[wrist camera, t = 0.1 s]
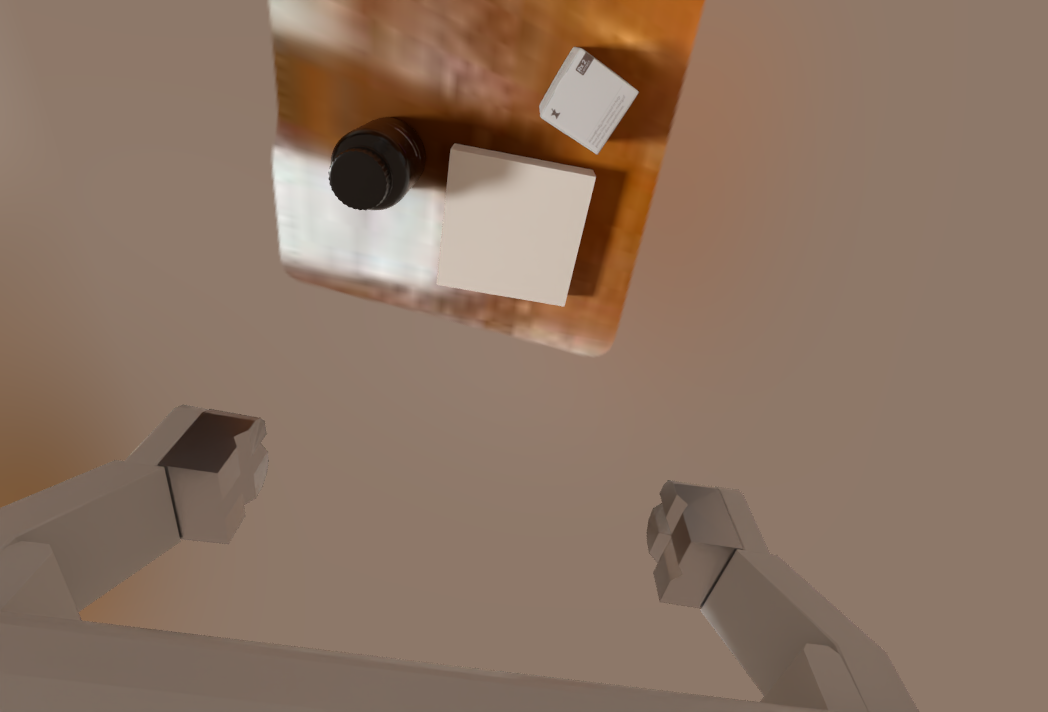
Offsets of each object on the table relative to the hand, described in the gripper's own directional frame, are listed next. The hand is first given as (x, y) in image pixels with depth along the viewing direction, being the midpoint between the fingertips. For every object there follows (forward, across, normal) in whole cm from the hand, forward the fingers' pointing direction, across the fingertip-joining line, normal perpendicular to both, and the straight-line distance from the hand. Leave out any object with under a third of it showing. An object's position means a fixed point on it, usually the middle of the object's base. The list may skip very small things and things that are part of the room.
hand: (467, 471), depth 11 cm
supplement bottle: (+48, +12, +5) cm, 50 cm away
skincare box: (+48, -5, -3) cm, 49 cm away
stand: (+48, -1, +10) cm, 49 cm away
